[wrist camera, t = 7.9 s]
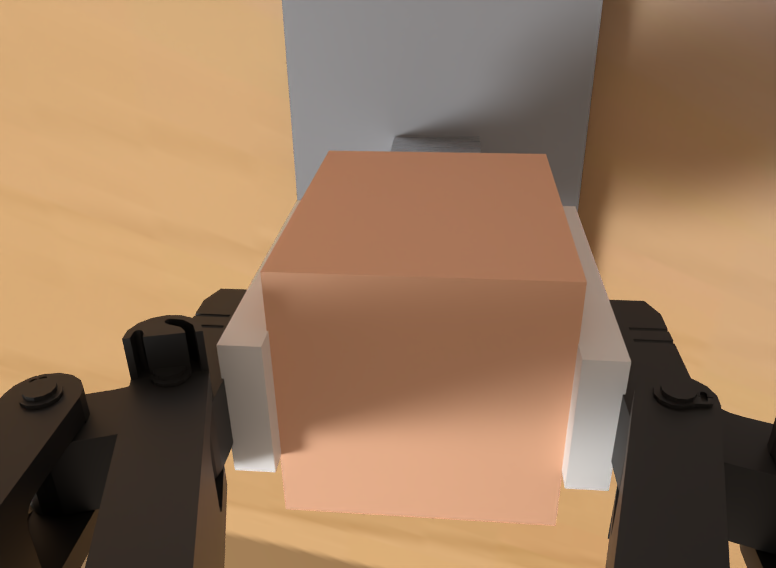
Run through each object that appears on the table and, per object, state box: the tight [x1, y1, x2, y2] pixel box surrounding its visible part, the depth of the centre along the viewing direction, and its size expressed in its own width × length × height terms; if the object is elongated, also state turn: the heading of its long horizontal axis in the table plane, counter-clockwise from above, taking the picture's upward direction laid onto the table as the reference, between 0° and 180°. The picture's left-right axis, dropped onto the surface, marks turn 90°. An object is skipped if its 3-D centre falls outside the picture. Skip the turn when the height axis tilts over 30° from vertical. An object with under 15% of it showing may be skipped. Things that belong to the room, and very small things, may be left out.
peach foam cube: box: [260, 151, 587, 526], centre depth 16 cm, size 5×5×7 cm
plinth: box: [282, 0, 603, 212], centre depth 23 cm, size 9×11×1 cm
